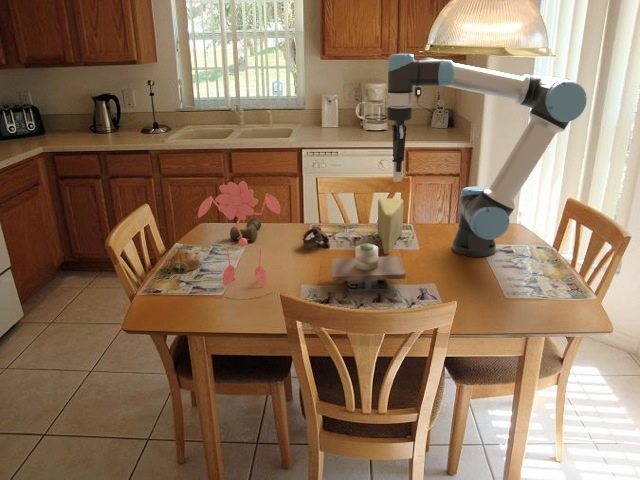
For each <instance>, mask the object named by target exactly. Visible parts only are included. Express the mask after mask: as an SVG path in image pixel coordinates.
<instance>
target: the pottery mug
mask: <svg viewBox="0 0 640 480" xmlns="http://www.w3.org/2000/svg"><path fill="white" fill-rule="evenodd" d="M310 234H311V235H312V234H313V236H312V237H311V238H309V239H307V238H308V236H310ZM301 240H302V241H303V246H304V248H306V247H307V248H309V247H312V246H318V243H317V242H321V241H322V243H323V244H324V243H325V244H326V245H327V247H328V249H330V248H331V243H330V239H329V236H328V235H327V234H326V233H325V232H324V231H323V230H322V228H321V227H319V226H317V227H313V228H310V229H308V230H307V231H305V233H304V234H303V237H302V238H301Z"/></svg>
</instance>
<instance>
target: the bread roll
mask: <svg viewBox="0 0 640 480" xmlns="http://www.w3.org/2000/svg"><path fill="white" fill-rule="evenodd" d="M169 263H170V264H169V266H170V269H171V270H172V271H173V272H177V273H188V272H192V271H195V270H196V269H198V268H199V267H200V266H201V261H200V257H199V255H197V254H196V252H195V251H193V250H191V249H181V250H179V251H177V252H176V253H174V255H172V257H171V259H170V262H169Z"/></svg>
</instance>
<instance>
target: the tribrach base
mask: <svg viewBox="0 0 640 480" xmlns="http://www.w3.org/2000/svg"><path fill="white" fill-rule="evenodd" d="M347 289H348V290H349V291H348V294H349V293H366V294H389V287H388V282H387V279H383V280H357V281H347Z"/></svg>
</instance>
